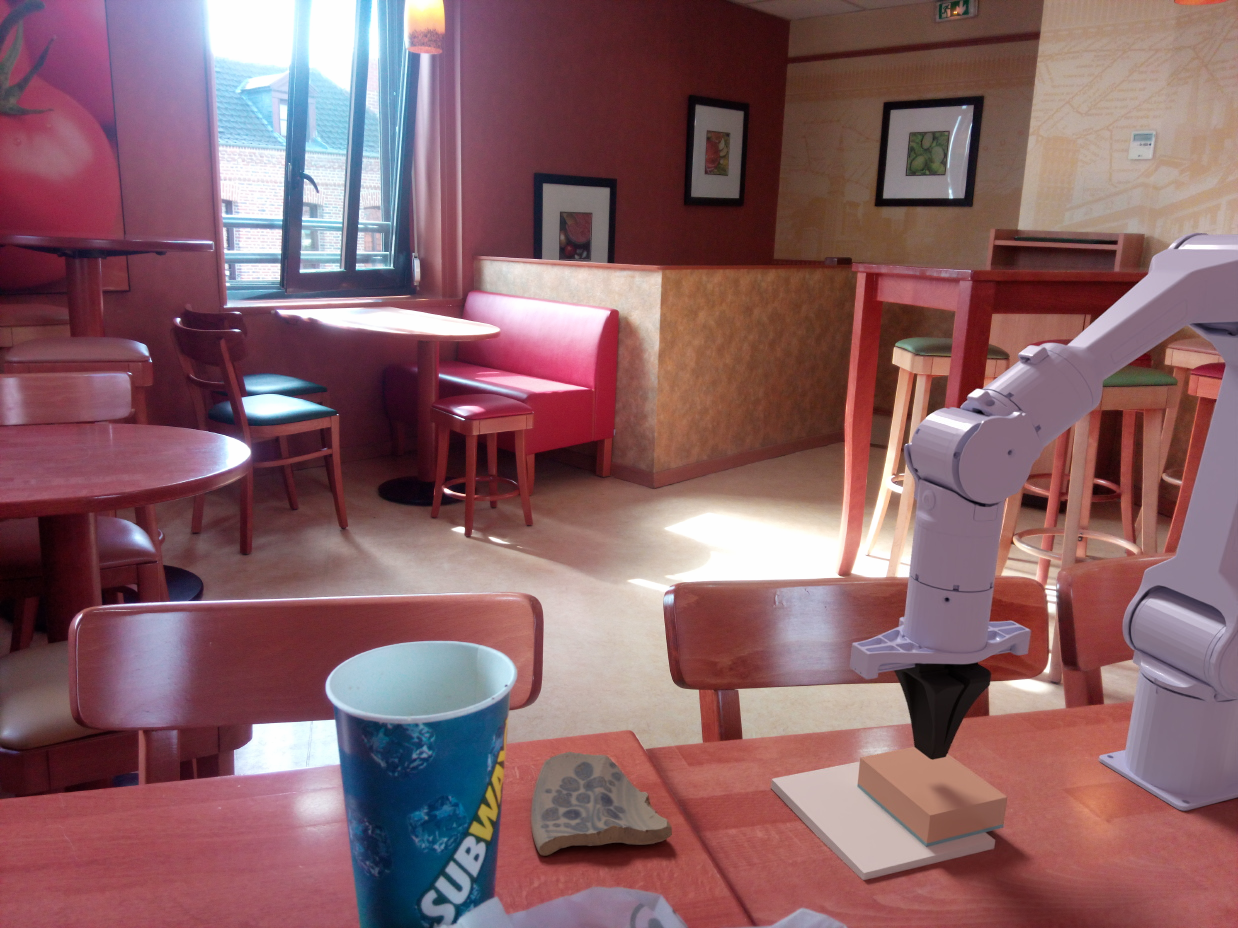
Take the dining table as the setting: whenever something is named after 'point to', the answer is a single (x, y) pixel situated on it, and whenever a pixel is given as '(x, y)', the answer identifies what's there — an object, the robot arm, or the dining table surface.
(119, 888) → the dining table surface
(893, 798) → the glazed tile
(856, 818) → the pale grey mat
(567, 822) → the ceramic fragment
